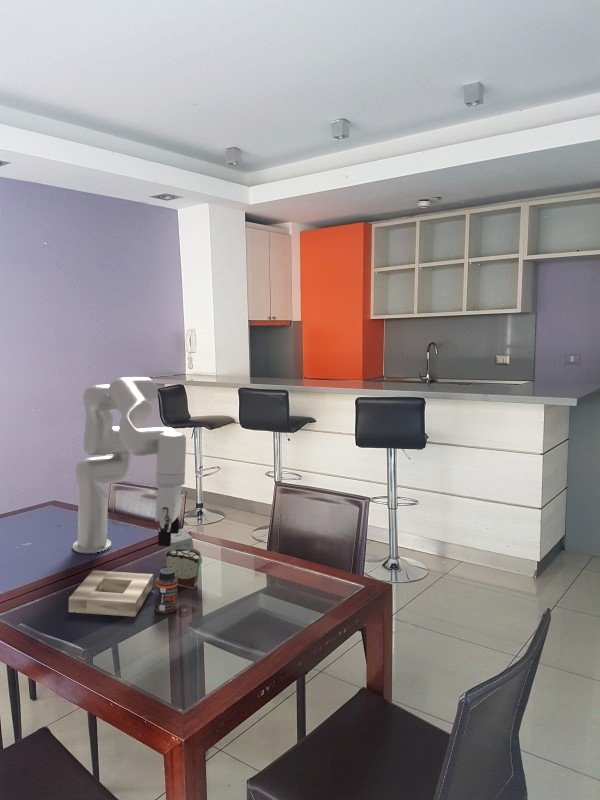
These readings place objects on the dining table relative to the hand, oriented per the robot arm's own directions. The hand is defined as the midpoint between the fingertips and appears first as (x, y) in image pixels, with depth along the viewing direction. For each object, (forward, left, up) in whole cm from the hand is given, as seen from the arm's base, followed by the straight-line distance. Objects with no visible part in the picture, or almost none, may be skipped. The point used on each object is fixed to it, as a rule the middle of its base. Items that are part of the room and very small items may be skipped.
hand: (168, 539), depth 160 cm
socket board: (-4, -16, -20) cm, 26 cm away
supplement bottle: (0, 0, -21) cm, 21 cm away
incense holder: (-31, -3, -21) cm, 38 cm away
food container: (-18, +2, -21) cm, 28 cm away
